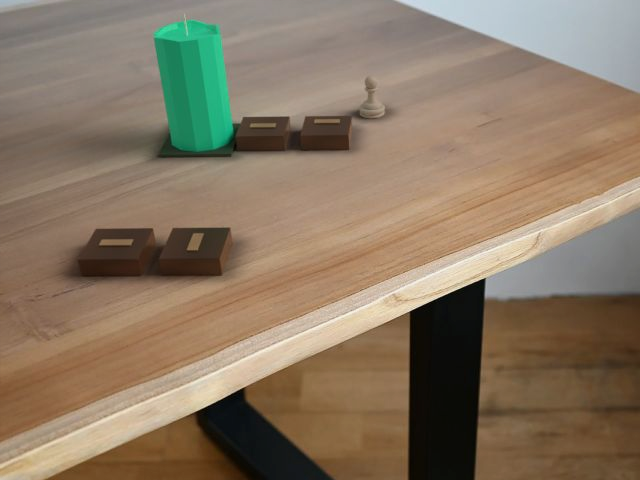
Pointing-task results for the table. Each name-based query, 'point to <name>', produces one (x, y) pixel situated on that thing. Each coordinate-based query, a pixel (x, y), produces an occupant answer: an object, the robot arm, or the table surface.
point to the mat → (223, 151)
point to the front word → (138, 244)
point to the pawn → (371, 101)
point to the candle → (194, 85)
